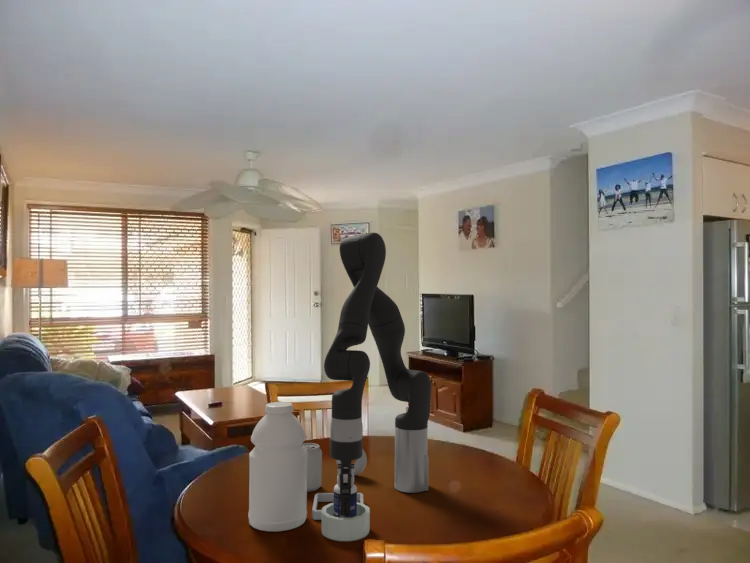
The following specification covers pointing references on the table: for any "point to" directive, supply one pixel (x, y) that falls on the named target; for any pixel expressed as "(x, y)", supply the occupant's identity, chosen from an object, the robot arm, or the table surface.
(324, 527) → the bowl
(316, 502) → the tray
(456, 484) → the table surface
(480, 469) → the table surface
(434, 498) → the table surface
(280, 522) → the bottle
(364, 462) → the donut
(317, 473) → the can
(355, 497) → the pill bottle
